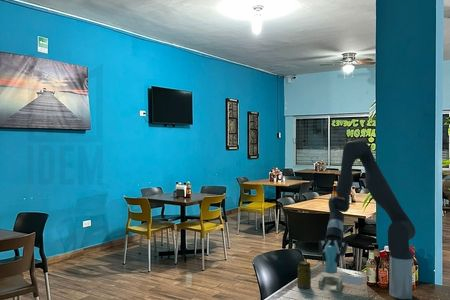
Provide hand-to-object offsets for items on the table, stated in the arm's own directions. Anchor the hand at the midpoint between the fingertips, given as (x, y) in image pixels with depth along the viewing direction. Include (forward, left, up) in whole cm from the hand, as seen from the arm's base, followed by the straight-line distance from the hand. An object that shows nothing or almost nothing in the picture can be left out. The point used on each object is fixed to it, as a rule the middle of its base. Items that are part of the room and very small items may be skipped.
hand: (330, 261), depth 185 cm
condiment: (+10, +6, -13) cm, 17 cm away
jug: (0, -1, -5) cm, 5 cm away
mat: (-7, -15, -12) cm, 20 cm away
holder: (0, -2, -12) cm, 13 cm away
